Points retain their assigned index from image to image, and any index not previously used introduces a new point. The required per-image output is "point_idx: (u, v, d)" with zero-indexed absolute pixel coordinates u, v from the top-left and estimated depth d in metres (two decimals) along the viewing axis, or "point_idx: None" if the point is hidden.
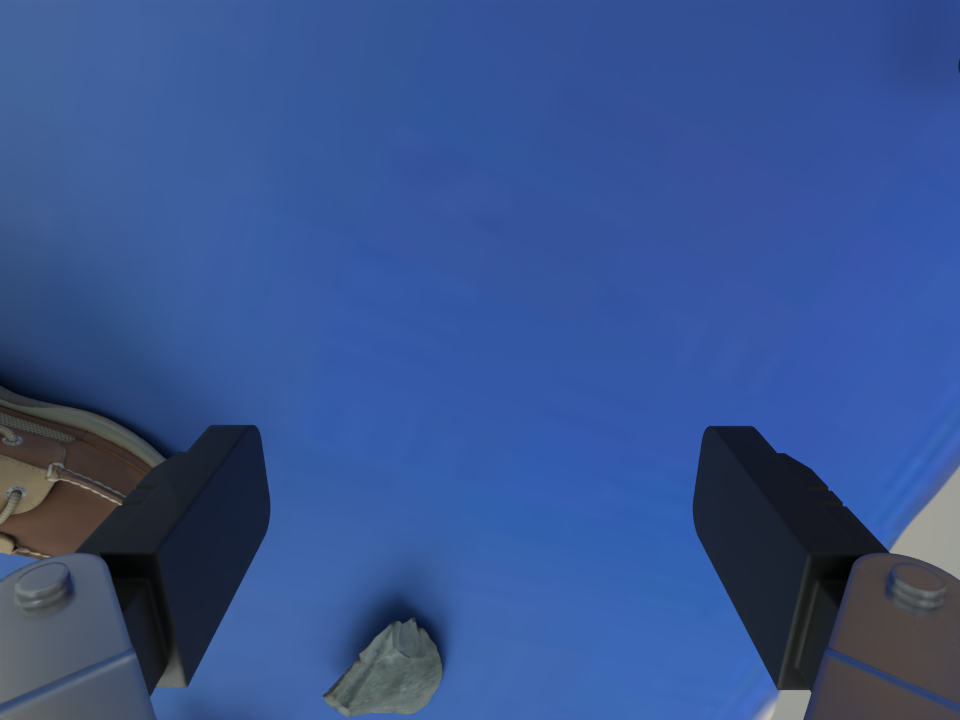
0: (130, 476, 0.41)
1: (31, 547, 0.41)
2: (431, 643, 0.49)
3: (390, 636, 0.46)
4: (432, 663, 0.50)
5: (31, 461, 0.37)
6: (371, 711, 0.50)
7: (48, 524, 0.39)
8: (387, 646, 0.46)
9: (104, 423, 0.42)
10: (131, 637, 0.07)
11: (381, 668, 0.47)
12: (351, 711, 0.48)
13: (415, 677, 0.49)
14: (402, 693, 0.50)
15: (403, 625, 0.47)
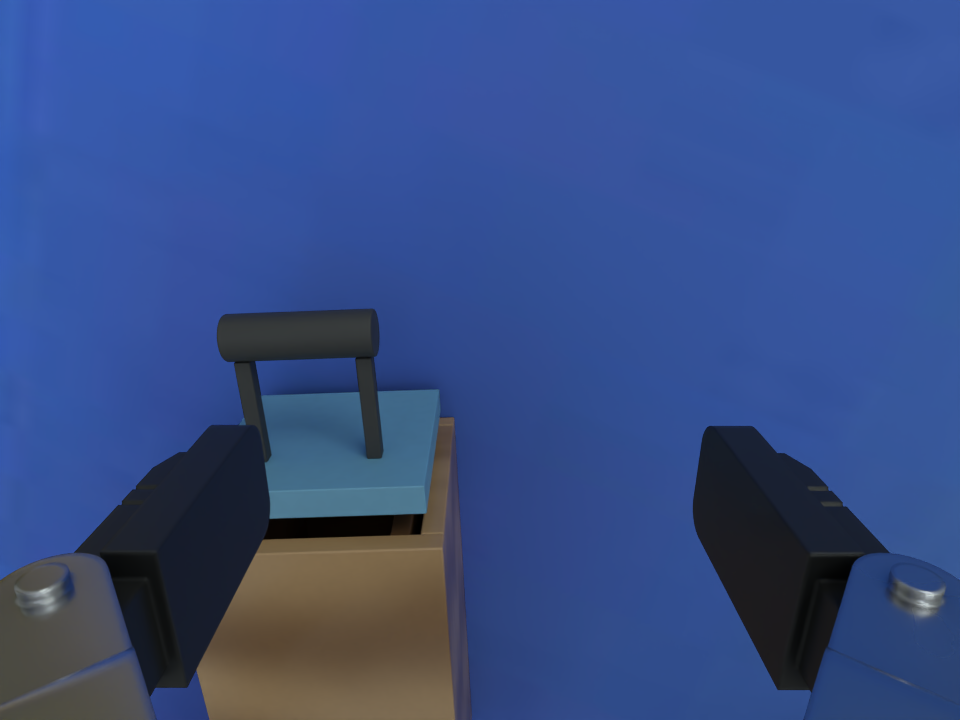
0: None
1: None
2: None
3: None
4: None
5: None
6: None
7: None
8: None
9: None
10: (131, 637, 0.07)
11: None
12: None
13: None
14: None
15: None
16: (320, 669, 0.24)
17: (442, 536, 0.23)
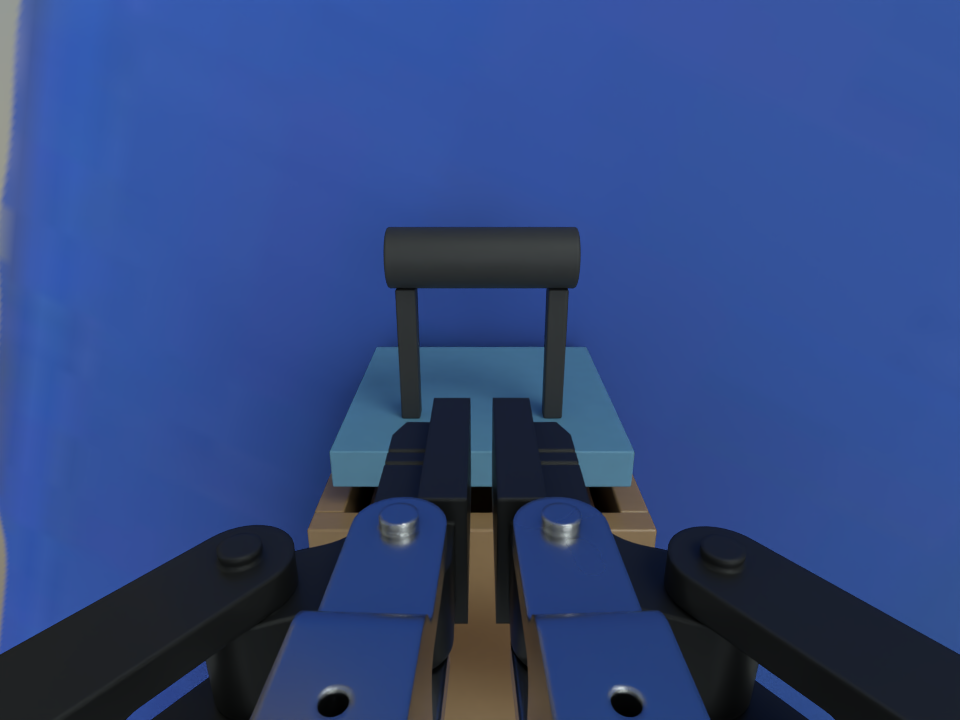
0: None
1: None
2: None
3: None
4: None
5: None
6: None
7: None
8: None
9: None
10: (453, 572, 0.08)
11: None
12: None
13: None
14: None
15: None
16: (478, 676, 0.20)
17: (649, 515, 0.18)
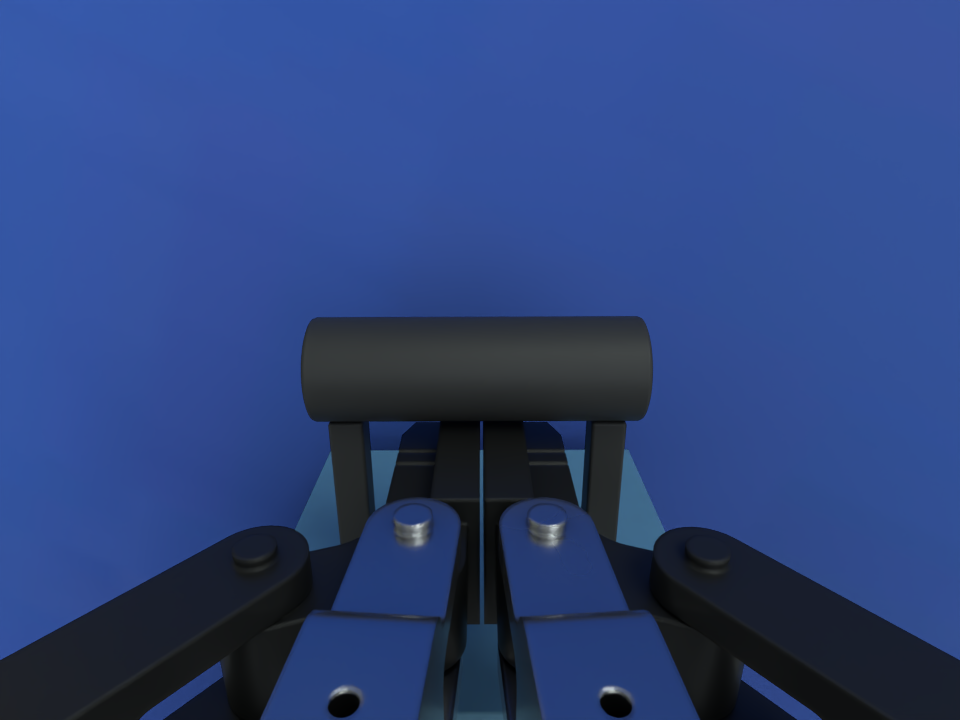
0: None
1: None
2: None
3: None
4: None
5: None
6: None
7: None
8: None
9: None
10: (466, 572, 0.08)
11: None
12: None
13: None
14: None
15: None
16: None
17: None
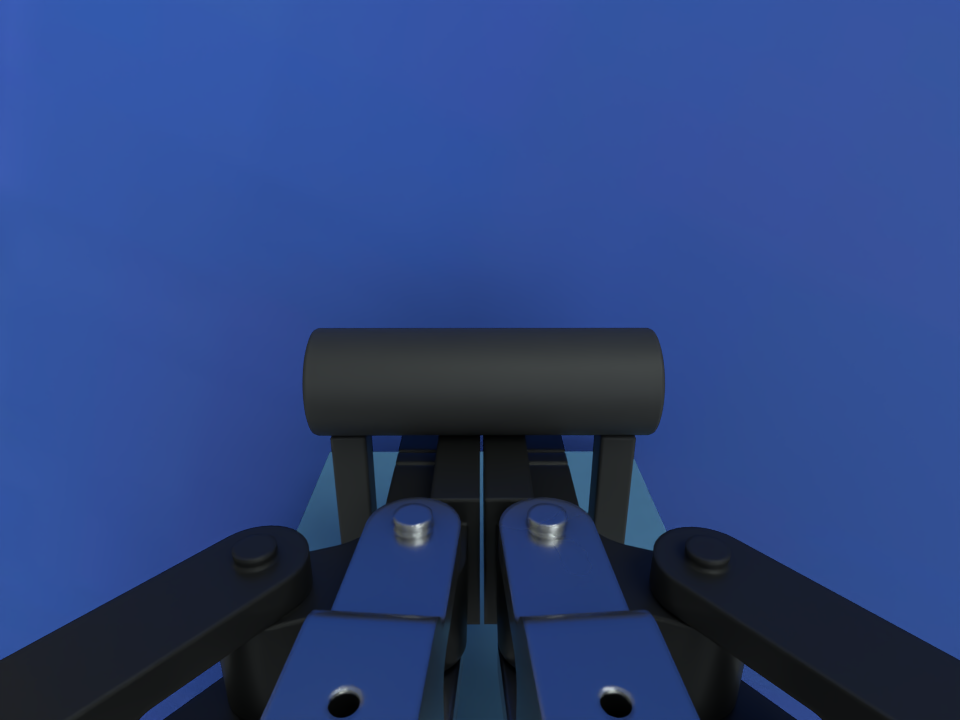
0: None
1: None
2: None
3: None
4: None
5: None
6: None
7: None
8: None
9: None
10: (466, 572, 0.08)
11: None
12: None
13: None
14: None
15: None
16: None
17: None
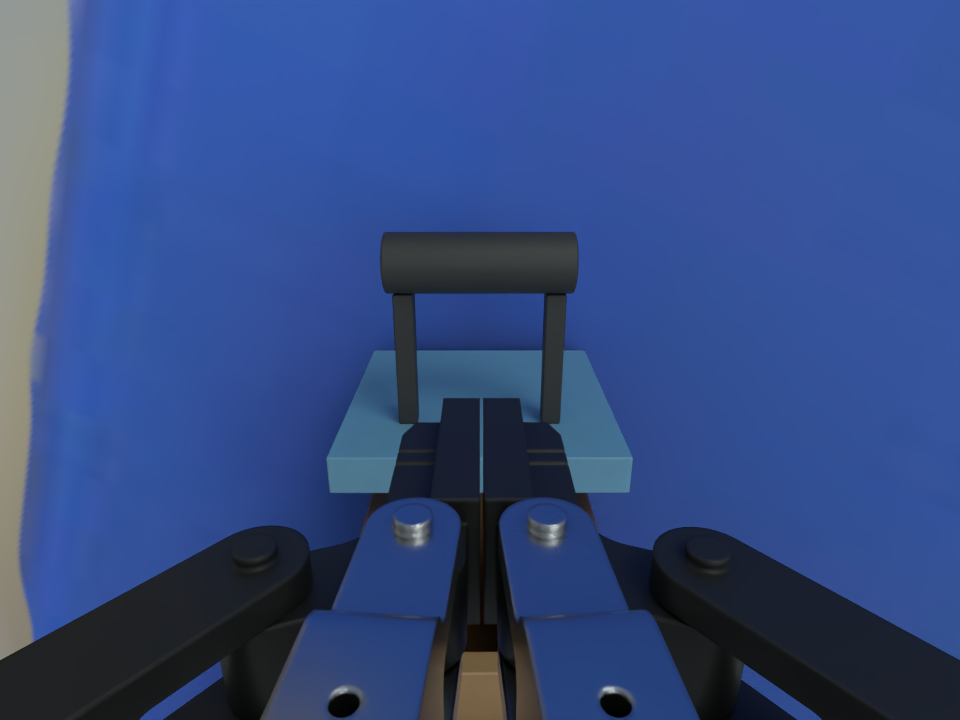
0: None
1: None
2: None
3: None
4: None
5: None
6: None
7: None
8: None
9: None
10: (466, 572, 0.08)
11: None
12: None
13: None
14: None
15: None
16: None
17: None
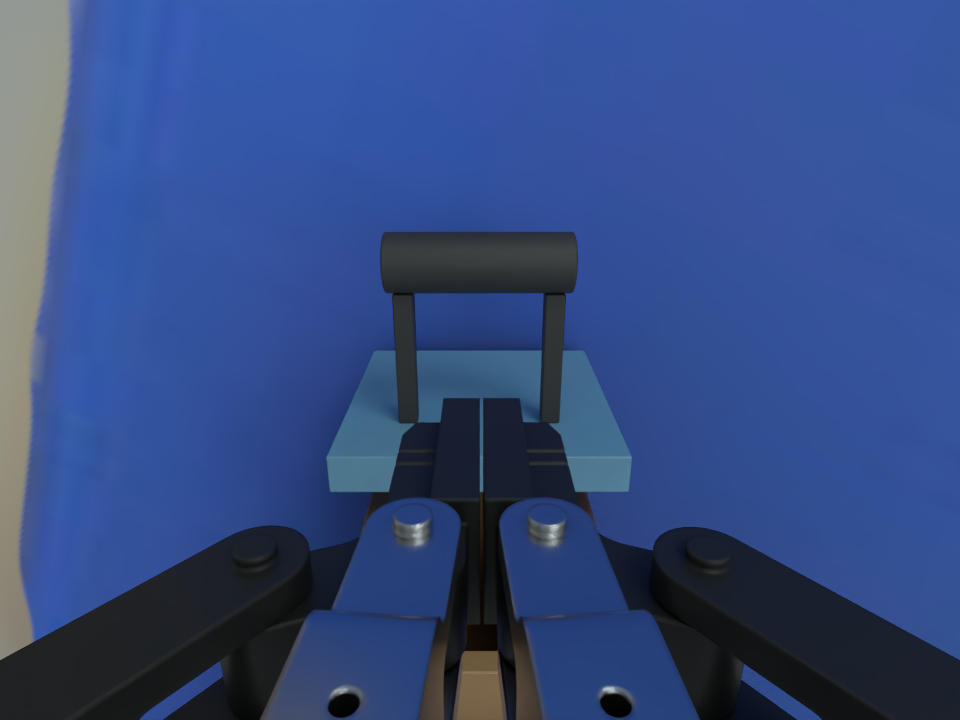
0: None
1: None
2: None
3: None
4: None
5: None
6: None
7: None
8: None
9: None
10: (466, 572, 0.08)
11: None
12: None
13: None
14: None
15: None
16: None
17: None
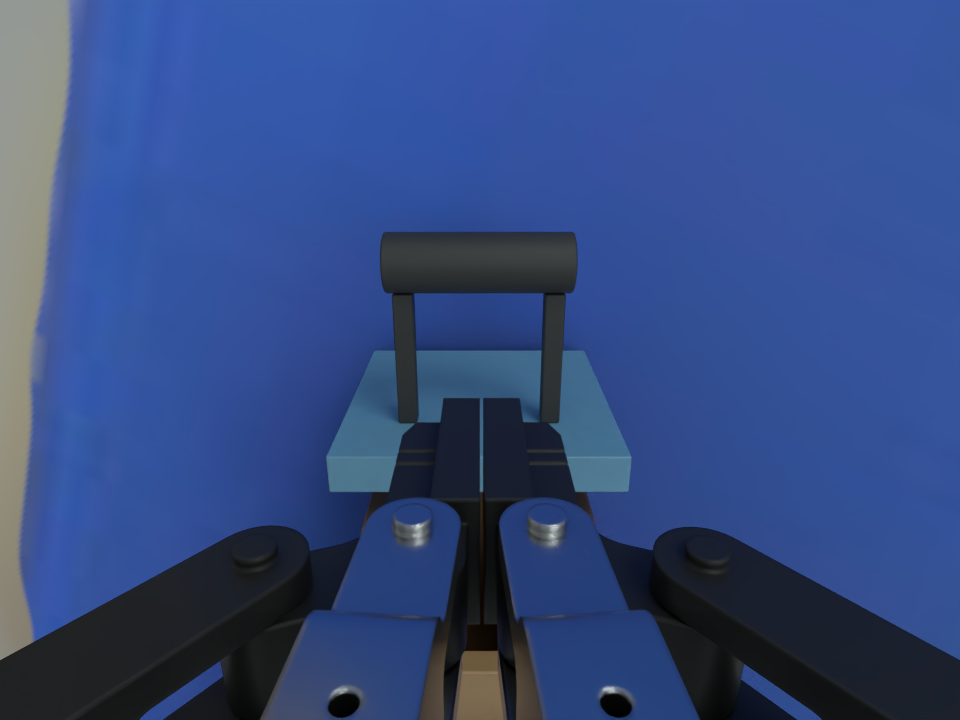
0: None
1: None
2: None
3: None
4: None
5: None
6: None
7: None
8: None
9: None
10: (466, 572, 0.08)
11: None
12: None
13: None
14: None
15: None
16: None
17: None
